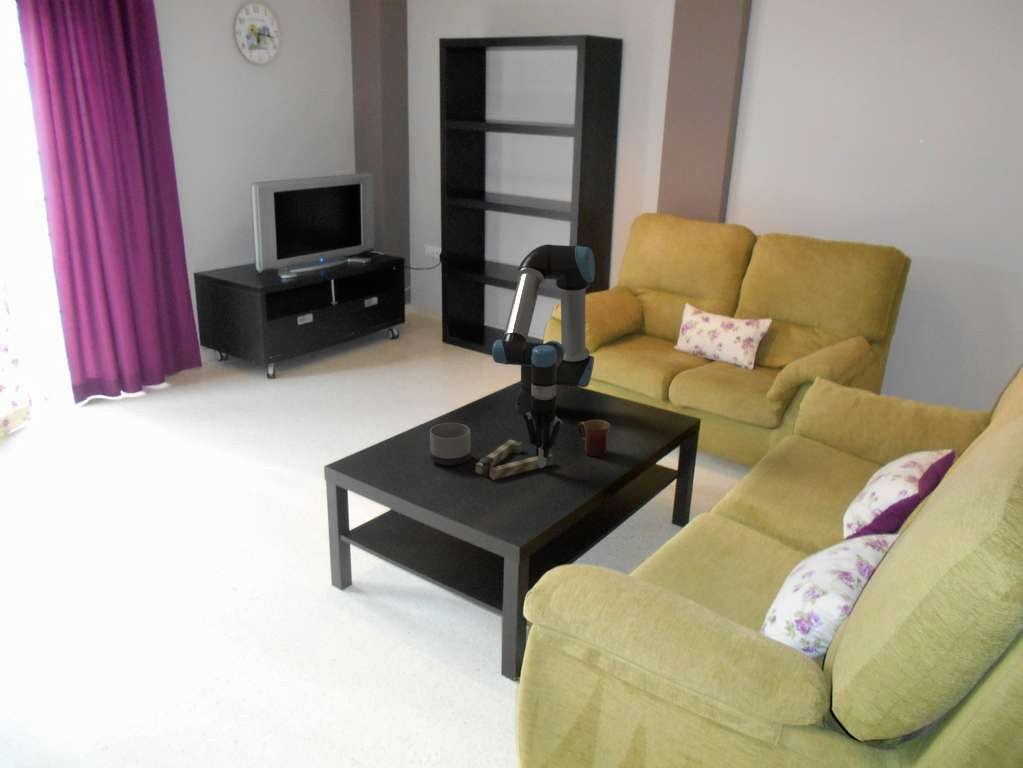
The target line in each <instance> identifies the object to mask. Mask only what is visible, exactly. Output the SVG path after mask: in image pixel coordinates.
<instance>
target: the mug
mask: <svg viewBox="0 0 1023 768" xmlns="http://www.w3.org/2000/svg"><path fill="white" fill-rule="evenodd" d="M582 426H583V427H584V432H585V435H584V433H583V429H582ZM611 426H612V425H611V424H610V423H609V422H608V421H606V420H603V419H589V420H586V421H582V420H581V421H579V422H578V424H577V433H578V436H579V437H580V438H581V439H582V441H584V452H585V454H587V455H588V456H589V457H593V458H598V457H599V458H600V457H603V456H605V455H606V454H607V451H608V443H609V442H608V441H609V440H608V438H609V431H610V429H611Z"/></svg>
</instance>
